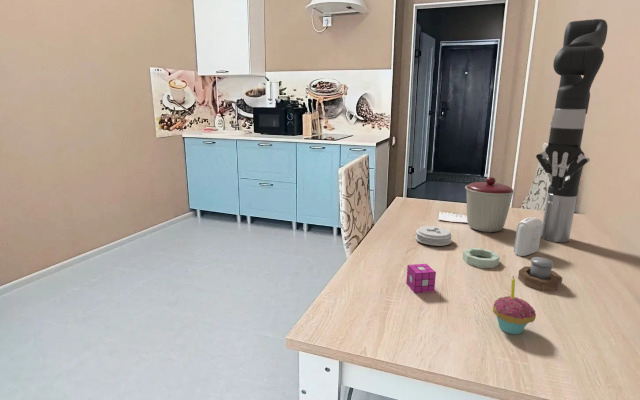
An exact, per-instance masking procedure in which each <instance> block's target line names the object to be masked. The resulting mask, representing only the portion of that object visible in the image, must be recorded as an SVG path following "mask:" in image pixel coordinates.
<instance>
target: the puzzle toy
mask: <svg viewBox="0 0 640 400" xmlns="http://www.w3.org/2000/svg"><path fill="white" fill-rule="evenodd" d="M406 267H407V268H406V281H405V282H406V283H405V284H406V285H407V286H408V288H410V290H411V291H412V292H413V293H414V294H417V293H419V294H420V293H431V292H433V293H434V292H435V288H436V274H437V272H436V271H435V270H434V269H433V268H432V267H431V266H430V265H429V264H428V263H418V264H407V266H406Z"/></svg>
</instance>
